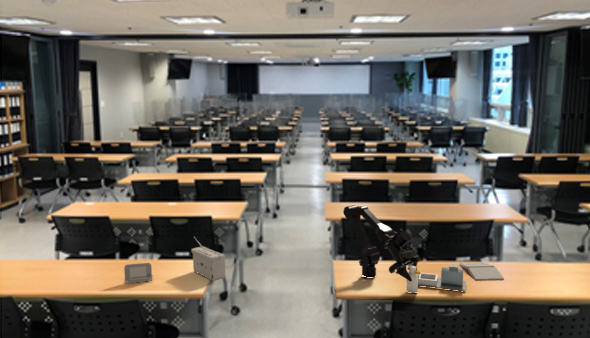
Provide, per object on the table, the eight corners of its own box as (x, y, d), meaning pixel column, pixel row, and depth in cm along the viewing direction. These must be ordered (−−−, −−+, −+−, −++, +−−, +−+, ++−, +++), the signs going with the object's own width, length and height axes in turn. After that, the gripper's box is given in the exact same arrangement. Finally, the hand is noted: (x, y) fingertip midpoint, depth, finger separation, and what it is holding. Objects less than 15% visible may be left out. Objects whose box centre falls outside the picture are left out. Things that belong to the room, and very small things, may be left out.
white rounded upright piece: (404, 291, 243) (404, 266, 241) (410, 289, 246) (411, 264, 244) (415, 296, 238) (416, 270, 236) (422, 293, 241) (423, 267, 239)
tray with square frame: (414, 286, 249) (414, 266, 248) (417, 277, 262) (417, 257, 260) (465, 292, 241) (466, 271, 240) (466, 282, 253) (467, 262, 252)
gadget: (504, 281, 257) (504, 274, 257) (475, 281, 257) (475, 274, 256) (486, 265, 280) (486, 259, 279) (459, 266, 279) (459, 259, 279)
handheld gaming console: (152, 275, 268) (151, 257, 266) (152, 282, 259) (151, 263, 257) (126, 278, 265) (125, 259, 263) (125, 284, 256) (123, 265, 254)
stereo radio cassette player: (226, 278, 262) (225, 241, 259) (212, 282, 257) (211, 244, 254) (204, 268, 278) (203, 233, 274) (191, 272, 272) (189, 236, 269)
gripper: (394, 247, 236) (412, 276, 229) (418, 239, 248) (437, 266, 241) (380, 259, 243) (398, 287, 236) (405, 250, 255) (422, 277, 248)
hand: (414, 279), depth 240 cm, fingers closed on white rounded upright piece, 5 cm apart
